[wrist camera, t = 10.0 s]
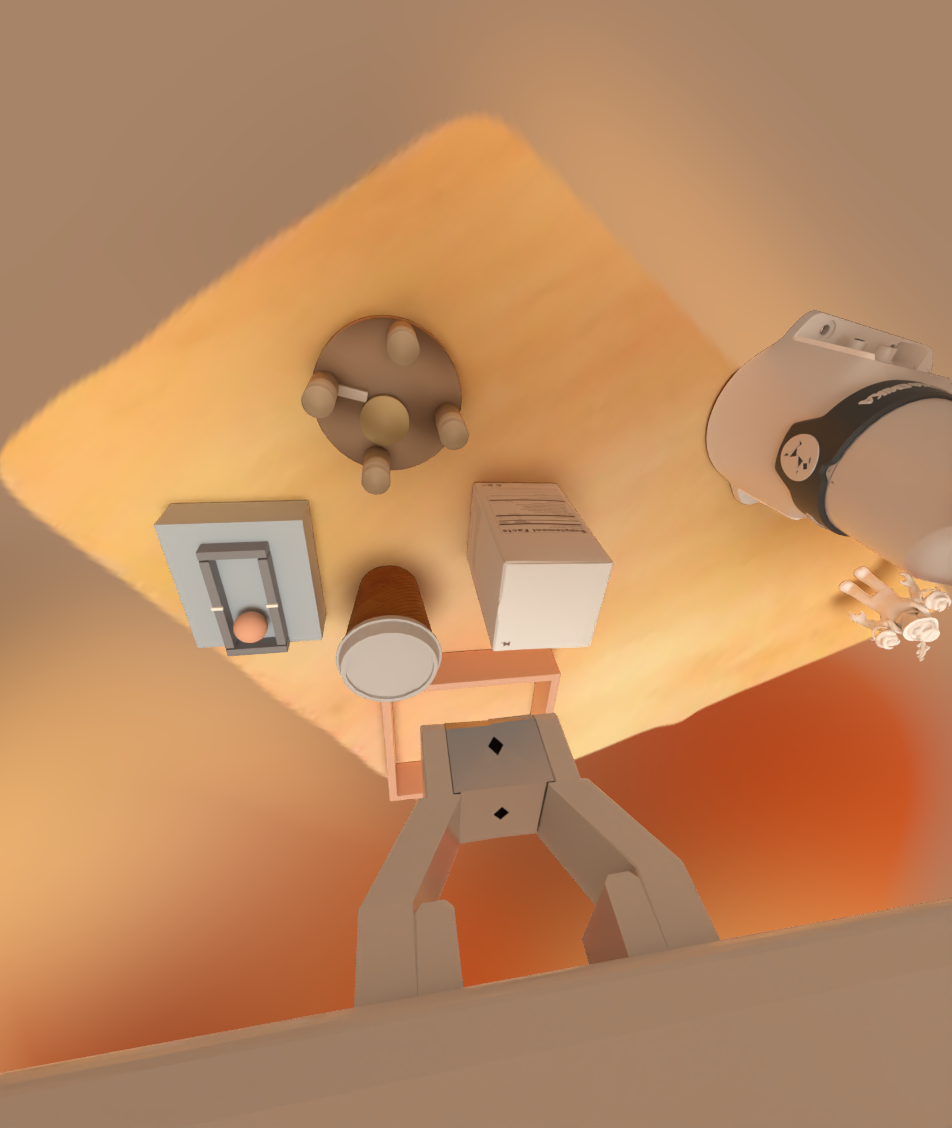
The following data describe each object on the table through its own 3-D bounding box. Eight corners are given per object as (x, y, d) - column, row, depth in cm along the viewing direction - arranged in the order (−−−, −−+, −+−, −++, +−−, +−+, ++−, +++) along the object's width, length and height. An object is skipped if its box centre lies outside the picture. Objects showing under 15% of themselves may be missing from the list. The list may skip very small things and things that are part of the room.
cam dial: (324, 292, 37) (312, 303, 31) (475, 339, 41) (492, 357, 35) (305, 443, 43) (292, 478, 37) (439, 473, 47) (447, 508, 41)
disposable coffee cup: (381, 536, 50) (380, 610, 40) (450, 583, 54) (464, 660, 44) (325, 596, 53) (312, 678, 43) (395, 635, 57) (397, 718, 47)
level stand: (307, 500, 46) (299, 529, 42) (325, 615, 54) (320, 650, 49) (170, 503, 45) (145, 535, 40) (209, 622, 52) (192, 660, 48)
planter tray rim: (549, 644, 62) (560, 673, 58) (530, 753, 74) (539, 783, 70) (380, 657, 59) (380, 689, 55) (389, 768, 71) (390, 801, 67)
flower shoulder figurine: (833, 609, 67) (911, 673, 57) (818, 598, 65) (896, 663, 55) (892, 560, 63) (986, 619, 53) (877, 547, 62) (971, 606, 52)
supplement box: (545, 557, 54) (592, 650, 42) (465, 557, 53) (490, 655, 41) (560, 481, 50) (618, 562, 37) (472, 479, 48) (503, 563, 36)
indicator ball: (267, 604, 47) (261, 624, 45) (273, 627, 49) (267, 648, 47) (234, 605, 47) (226, 626, 44) (241, 629, 49) (233, 650, 46)
